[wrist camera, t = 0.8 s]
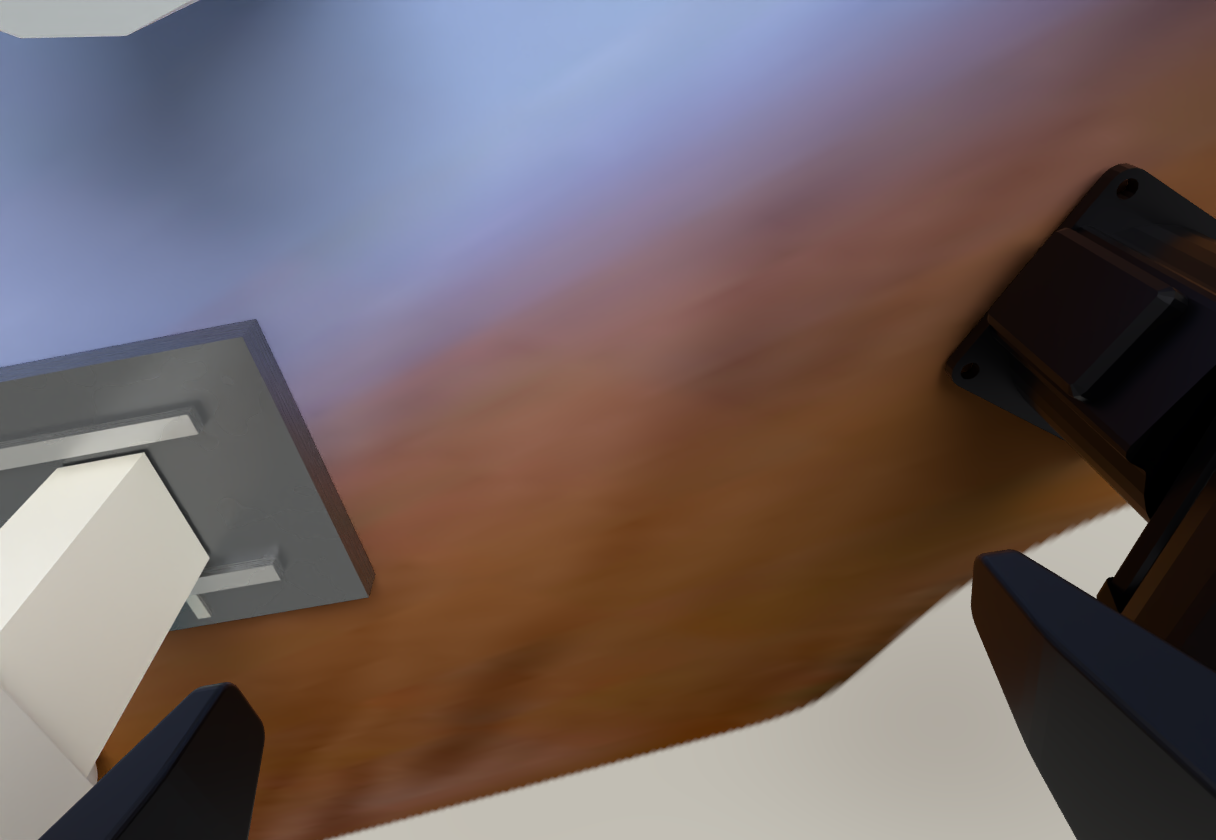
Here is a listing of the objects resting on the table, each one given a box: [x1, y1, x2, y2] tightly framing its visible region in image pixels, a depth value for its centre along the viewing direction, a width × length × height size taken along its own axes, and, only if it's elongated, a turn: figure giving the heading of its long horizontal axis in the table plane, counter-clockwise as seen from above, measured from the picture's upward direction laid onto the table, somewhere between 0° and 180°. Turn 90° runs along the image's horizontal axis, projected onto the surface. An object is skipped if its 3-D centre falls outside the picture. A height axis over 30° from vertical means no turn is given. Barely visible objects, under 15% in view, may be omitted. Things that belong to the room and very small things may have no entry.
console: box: [0, 319, 375, 631], centre depth 22 cm, size 14×9×1 cm, turn 100°
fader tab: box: [0, 452, 209, 840], centre depth 17 cm, size 3×4×10 cm
